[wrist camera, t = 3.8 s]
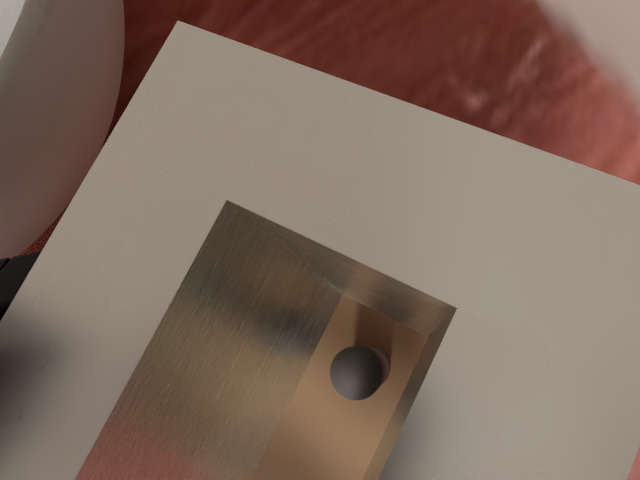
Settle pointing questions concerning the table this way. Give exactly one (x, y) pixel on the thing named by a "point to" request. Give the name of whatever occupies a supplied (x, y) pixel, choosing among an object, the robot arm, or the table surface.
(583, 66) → the table surface
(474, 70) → the table surface
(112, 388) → the c link
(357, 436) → the peg stand
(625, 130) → the table surface
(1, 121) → the decorative bowl
